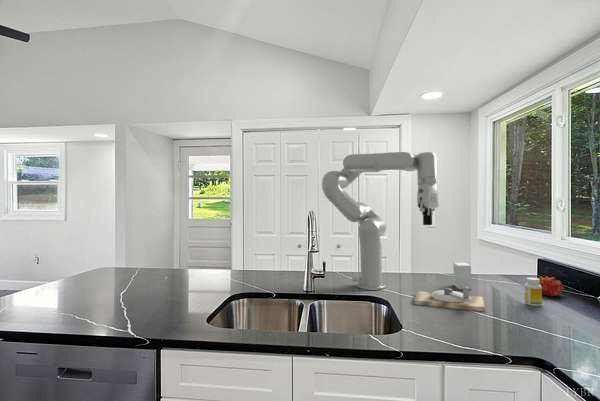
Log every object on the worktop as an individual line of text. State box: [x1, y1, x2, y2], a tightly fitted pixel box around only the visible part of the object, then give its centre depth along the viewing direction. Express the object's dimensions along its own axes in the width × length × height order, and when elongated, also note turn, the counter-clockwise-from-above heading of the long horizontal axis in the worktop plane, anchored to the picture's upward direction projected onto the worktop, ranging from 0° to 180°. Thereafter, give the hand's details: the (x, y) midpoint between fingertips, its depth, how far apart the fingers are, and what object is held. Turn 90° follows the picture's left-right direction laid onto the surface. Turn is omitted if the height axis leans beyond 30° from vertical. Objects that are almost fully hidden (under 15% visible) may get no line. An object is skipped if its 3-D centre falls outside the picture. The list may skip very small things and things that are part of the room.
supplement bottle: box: [524, 277, 543, 307], centre depth 130 cm, size 5×5×10 cm
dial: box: [431, 286, 470, 303], centre depth 132 cm, size 16×12×6 cm
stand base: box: [413, 290, 486, 312], centre depth 134 cm, size 24×14×2 cm, turn 65°
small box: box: [452, 262, 472, 290], centre depth 156 cm, size 8×6×10 cm
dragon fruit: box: [537, 275, 565, 297], centre depth 141 cm, size 8×8×12 cm
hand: (427, 224), depth 147 cm, fingers closed
